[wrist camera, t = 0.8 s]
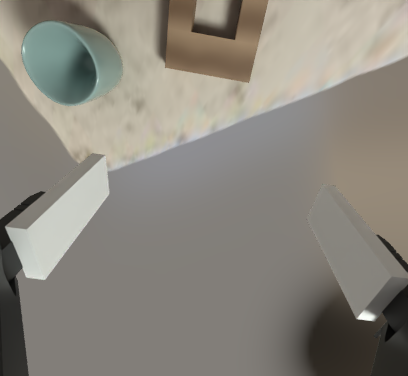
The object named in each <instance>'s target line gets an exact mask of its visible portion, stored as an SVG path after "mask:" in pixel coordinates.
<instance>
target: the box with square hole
mask: <svg viewBox="0 0 408 376" xmlns="http://www.w3.org/2000/svg"><path fill="white" fill-rule="evenodd" d="M196 1H197V0H170V1H169V16H168V31H167V46H166V61H165V68H171V69H176V70H182V71H187V72H193V73H198V74H204V75H209V76H215V77H220V78H226V79H231V80H237V81H242V82H248V83H249V80H250V76H251V72H252V68H253V63H254V59H255V55H256V51H257V46H258V42H259V38H260V34H261V30H262V25H263V21H264V17H265V13H266V8H267V4H268V0H242V2H241V7H240V12H239V17H238V23H237V28H236V33H235V38H234V40H231V39H226V38H221V37H216V36H210V35H205V34H200V33H194V32H193V28H194V19H195V10H196Z"/></svg>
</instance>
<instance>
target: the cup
mask: <svg viewBox="0 0 408 376" xmlns="http://www.w3.org/2000/svg"><path fill="white" fill-rule="evenodd" d="M21 54H22V60H23V63H24V66H25V69H26V71H27V73H28V75H29V77H30V78H31V80H32V81H33V82H34V84H35V85H36V86H37V87H38V89H39V90H40V91H41V92H42V93H43V94H45V95H46V96H47V97H48V98H50V99H51V100H53V101H54V102H56V103H59V104H61V105H66V106H77V105H81V104H85V103H88V102H90V101H93V100H95V99H97V98H100V97H102V96H104V95H106V94H108V93H109V92H110V91H112V90H113V89H114V88H115V87H116V86H117V85H118V84H119V82H120V80H121V78H122V75H123V63H122V59H121V56H120V54H119V52H118V50H117V49H116V47H115V46H114V44H113V43H112V42H111V41H110V40H109V39H108V38H107V37H106V36H105V35H103V34H102V33H100V32H99V31H97V30H95V29H93V28H90V27H87V26H84V25H79V24H75V23H70V22H65V21H59V20H48V21H44V22H40V23H38V24H36V25H35V26H33V27H32V28H31V29H30V30H29V31H28V32H27V34H26V35H25V37H24V40H23V43H22V51H21Z"/></svg>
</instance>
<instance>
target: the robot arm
mask: <svg viewBox="0 0 408 376" xmlns="http://www.w3.org/2000/svg"><path fill="white" fill-rule="evenodd" d="M108 195H109V185H108V176H107V167H106V157H105V155H102V154H94V153H92V154H91V155H90V156H89V157H87V158H86V159H85V160H84V161H83V162H81V163H80V164H79V165H78V166H77V167H75V168H74V169H73V170H72V171H71V172H69V173H68V174H67V175H66V176H65V177H64V178H62V179H61V180H60V181H59V182H58V183H57V184H55V185H54V186H53V187H52V188H50V189H49V190H48V191H47V192H42V191H41V192H39V193H36V194H34V195H32V196H30V197H28V198H27V199H26V200H25V201H23V202H22V203H21V205H18V206H17V207H16V208H14V210H12V211H11V212H9V213H8V214H7V215H5V216H4V217H3V218H2V219H0V376H29V374H28V366H27V357H26V348H25V340H24V331H23V323H22V314H21V305H20V297H19V288H18V280H17V278H16V274H17V273H18V272H19V271H20V270H21V269H22V268H23V270H24V273H25V275H26V277H27V278H35V279H43V280H45V279H46V278H47V276H48V275H49V274H50V272H51V271H52V270H53V268H54V267H55V266H56V264H57V263H58V262H59V260H60V259H61V258H62V256H63V255H64V254H65V252H66V251H67V250H68V248H69V247H70V246H71V244H72V243H73V242H74V240H75V239H76V238H77V236H78V235H79V234H80V232H81V231H82V230H83V228H84V227H85V226H86V224H87V223H88V222H89V220H90V219H91V217H92V216H93V215H94V214H95V212H96V211H97V210H98V208H99V207H100V206H101V204H102V203H103V202H104V200H105V199H106V198H107V196H108ZM307 221H308V223H309V225H310V227H311V229H312V231H313V233H314V235H315V237H316V239H317V241H318V243H319V245H320V247H321V249H322V251H323V253H324V255H325V257H326V259H327V261H328V263H329V265H330V267H331V269H332V271H333V273H334V275H335V277H336V279H337V281H338V283H339V285H340V287H341V289H342V291H343V293H344V295H345V296H346V299H347V301H348V303H349V305H350V307H351V309H352V311H353V312H354V315H355V316H356V319H361V320H370V321H375V320H376V319H377V318H378V317H379V316H380V314H381V313H383V314H384V316H385V318H386V319H387V322H386V323H385V324H384V325H383V326H382V328H380V329H379V330H378V332H377V333H376V334H375V335H374V337H375V338H377V337H378V336H379V335H381V336H380V340H379V344H378V348H377V352H376V356H375V360H374V364H373V368H372V371H371V375H370V376H408V264H407V263H406V262H405V261H404V260H402V257H401V256H400V255H399V254H398V253H396V250H395V249H394V248H393V247H392V246H391V245H390V244H389V243H388V242H387V241H386V240H385V239H383V238H382V237H381V236H379V235H375V233H374V232H373V231H372V230H371V228H370V227H369V226H368V225H367V224H366V222H365V221H364V220H363V219H362V218H361V217H360V215H359V214H358V213H357V212H356V211H355V209H354V208H353V207H352V206H351V204H350V203H349V202H348V201H347V200H346V198H345V197H344V196H343V195H342V194H341V193H340V191H339V190H338V189H337V188H336V186H334V185H326V184H322V186H321V188H320V190H319V193H318V195H317V197H316V199H315V202H314V204H313V206H312V208H311V211H310V213H309V215H308V217H307Z"/></svg>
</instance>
